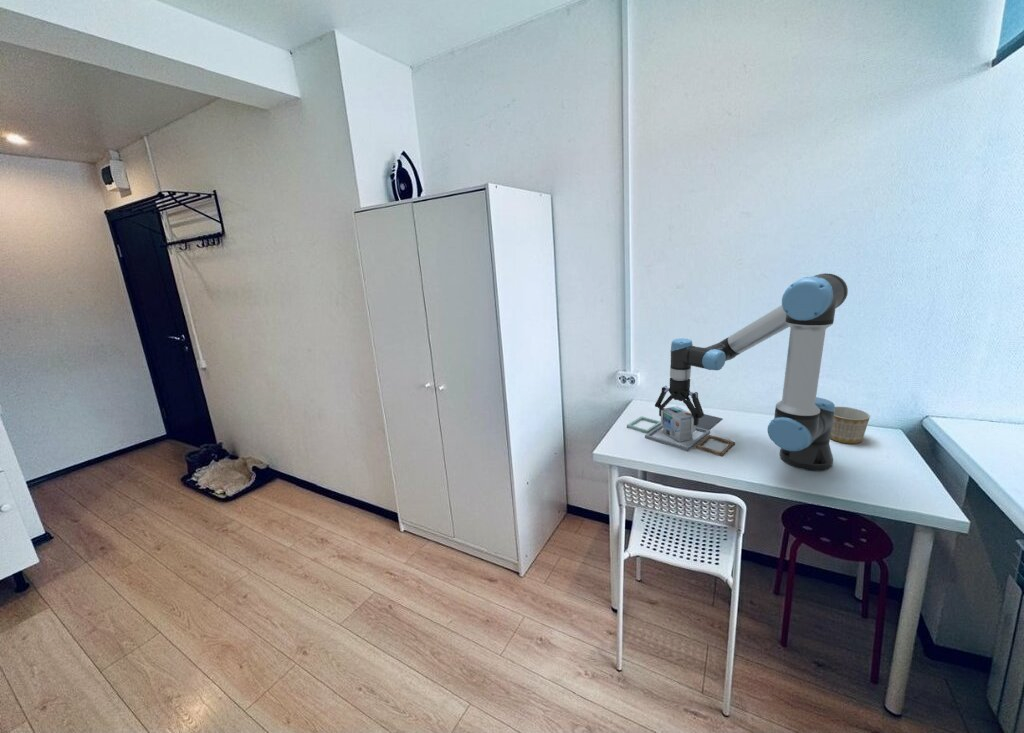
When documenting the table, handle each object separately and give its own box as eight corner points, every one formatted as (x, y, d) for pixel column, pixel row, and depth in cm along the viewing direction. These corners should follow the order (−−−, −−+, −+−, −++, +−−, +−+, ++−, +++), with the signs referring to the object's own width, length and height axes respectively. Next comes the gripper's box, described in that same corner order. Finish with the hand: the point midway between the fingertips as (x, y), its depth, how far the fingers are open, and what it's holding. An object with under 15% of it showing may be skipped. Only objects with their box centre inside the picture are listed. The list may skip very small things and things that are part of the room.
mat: (722, 419, 179) (722, 418, 179) (708, 430, 170) (708, 430, 169) (697, 413, 187) (697, 412, 187) (682, 424, 178) (682, 423, 177)
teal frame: (661, 424, 179) (662, 421, 178) (647, 433, 171) (647, 431, 171) (641, 418, 186) (641, 416, 186) (626, 427, 178) (626, 424, 178)
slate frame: (710, 433, 168) (710, 430, 167) (687, 451, 155) (687, 448, 155) (668, 421, 181) (668, 419, 180) (644, 437, 168) (644, 435, 168)
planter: (858, 449, 147) (863, 422, 145) (817, 438, 157) (821, 413, 154) (869, 438, 154) (874, 412, 152) (829, 427, 164) (833, 403, 161)
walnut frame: (735, 444, 157) (735, 441, 157) (722, 456, 149) (722, 453, 149) (708, 437, 164) (708, 434, 164) (695, 448, 157) (695, 445, 156)
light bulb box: (662, 432, 172) (662, 408, 169) (675, 428, 174) (676, 405, 171) (679, 442, 162) (680, 417, 159) (693, 439, 164) (694, 414, 161)
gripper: (715, 380, 154) (712, 432, 160) (656, 370, 172) (654, 417, 178) (707, 386, 150) (703, 439, 156) (646, 374, 167) (645, 423, 173)
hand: (677, 427), depth 167 cm, fingers closed on light bulb box, 12 cm apart
